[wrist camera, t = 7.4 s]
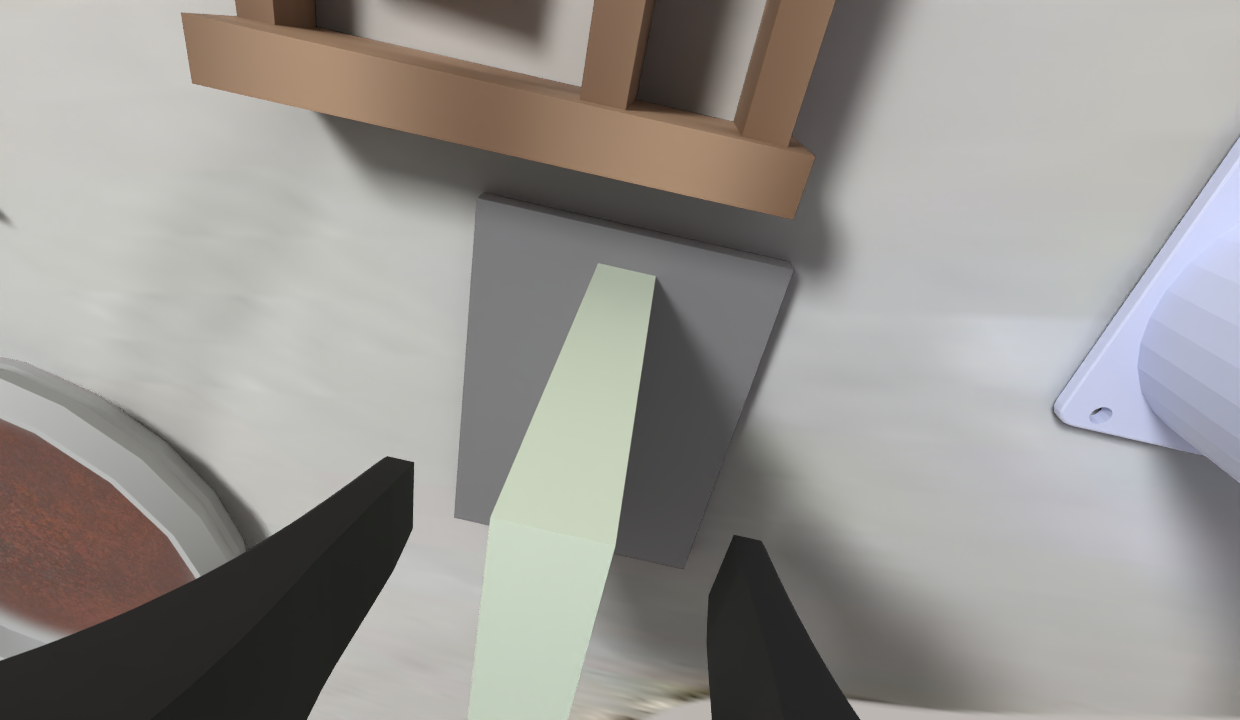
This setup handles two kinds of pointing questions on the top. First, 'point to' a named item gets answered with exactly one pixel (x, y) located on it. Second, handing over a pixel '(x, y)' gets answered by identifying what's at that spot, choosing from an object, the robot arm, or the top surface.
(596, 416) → the board
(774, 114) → the rack
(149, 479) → the frying pan
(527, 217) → the mat
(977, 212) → the top surface
